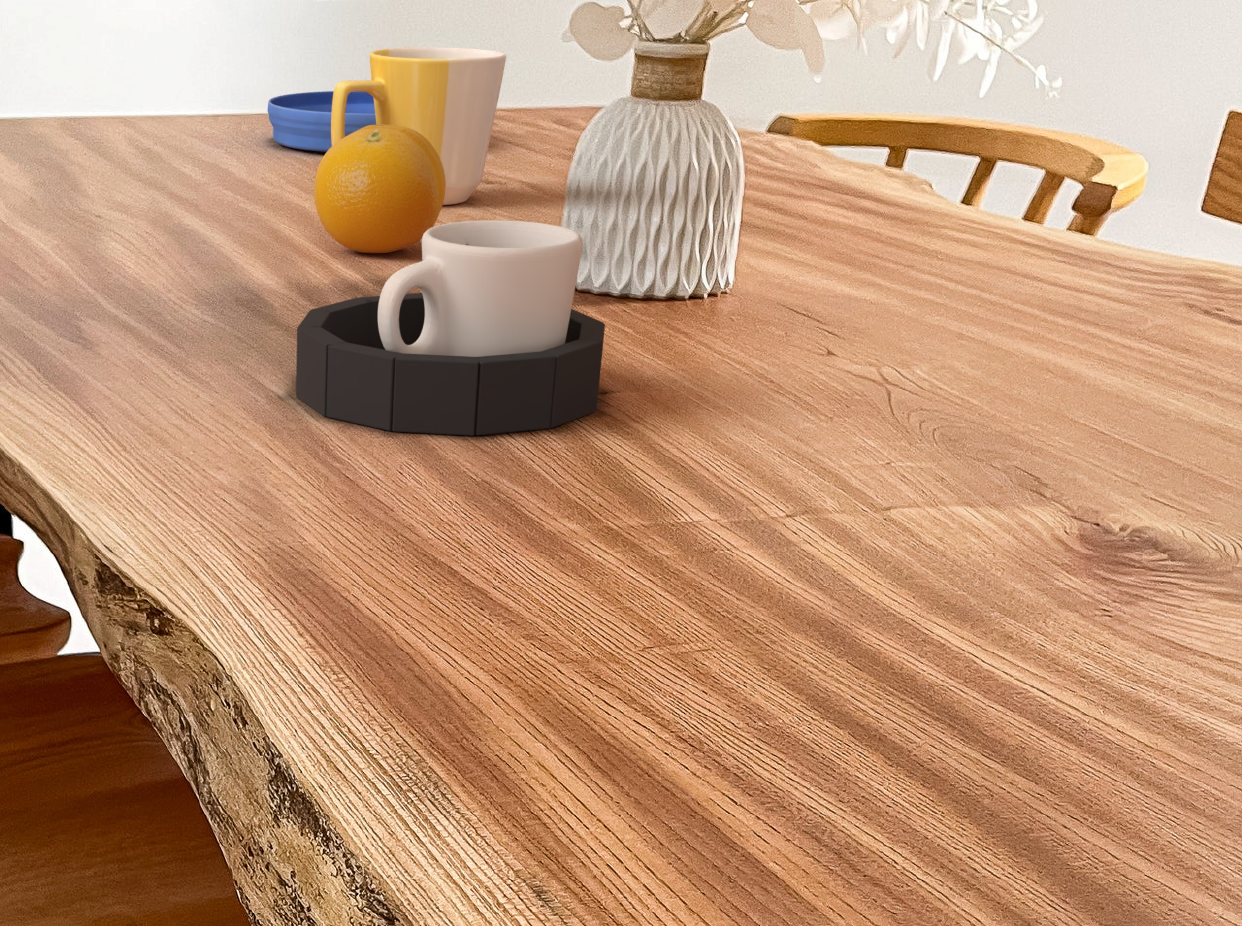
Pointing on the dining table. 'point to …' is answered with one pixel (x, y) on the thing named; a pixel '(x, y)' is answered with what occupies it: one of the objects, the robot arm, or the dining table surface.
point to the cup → (487, 289)
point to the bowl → (316, 118)
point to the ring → (440, 376)
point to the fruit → (380, 188)
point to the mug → (434, 104)
